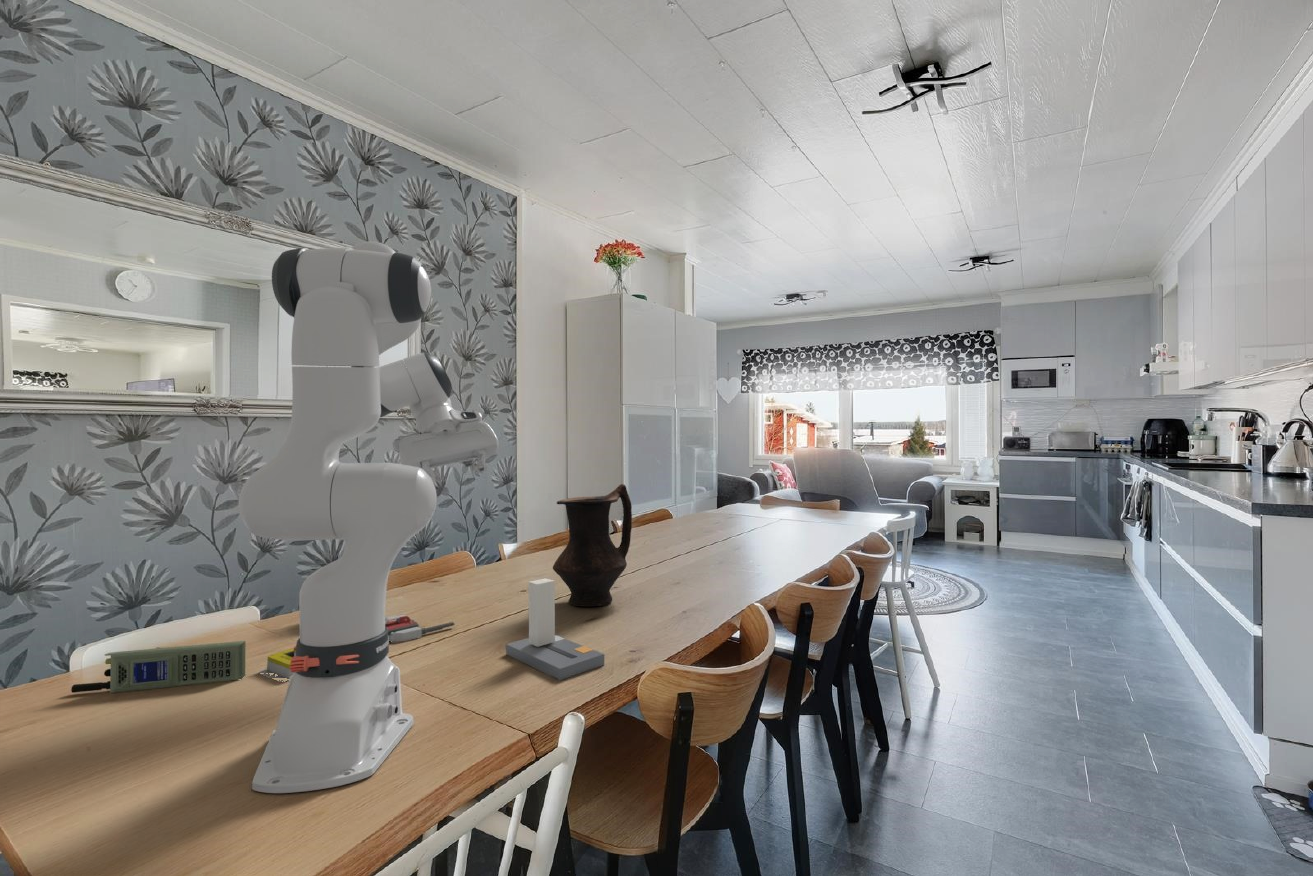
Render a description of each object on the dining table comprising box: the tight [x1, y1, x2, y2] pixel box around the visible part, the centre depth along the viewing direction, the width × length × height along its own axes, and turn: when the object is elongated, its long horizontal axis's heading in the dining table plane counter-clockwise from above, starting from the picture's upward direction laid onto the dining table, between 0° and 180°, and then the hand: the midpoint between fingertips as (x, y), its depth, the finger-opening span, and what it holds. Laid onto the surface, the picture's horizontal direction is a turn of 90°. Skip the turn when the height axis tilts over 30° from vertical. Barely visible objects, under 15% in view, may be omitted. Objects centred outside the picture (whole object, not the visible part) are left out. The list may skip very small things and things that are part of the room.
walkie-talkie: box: [385, 614, 456, 643], centre depth 131 cm, size 9×4×20 cm
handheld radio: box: [70, 640, 247, 694], centre depth 105 cm, size 7×3×25 cm
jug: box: [552, 483, 633, 607], centre depth 156 cm, size 21×18×30 cm
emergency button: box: [258, 646, 296, 683], centre depth 115 cm, size 9×4×15 cm
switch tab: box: [528, 577, 556, 647], centre depth 119 cm, size 3×4×12 cm
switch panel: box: [505, 634, 605, 681], centre depth 116 cm, size 18×10×2 cm, turn 45°
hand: (460, 474), depth 126 cm, fingers open, 8 cm apart
